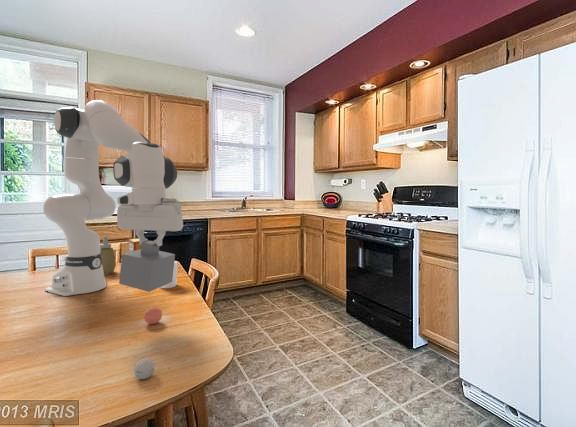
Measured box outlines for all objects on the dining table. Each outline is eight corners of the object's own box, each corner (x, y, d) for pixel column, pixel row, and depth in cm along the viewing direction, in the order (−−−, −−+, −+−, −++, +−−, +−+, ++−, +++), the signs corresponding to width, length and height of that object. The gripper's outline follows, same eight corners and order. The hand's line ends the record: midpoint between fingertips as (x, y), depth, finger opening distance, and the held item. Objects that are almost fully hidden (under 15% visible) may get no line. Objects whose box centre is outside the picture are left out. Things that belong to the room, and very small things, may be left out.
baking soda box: (129, 270, 158) (128, 238, 157) (143, 267, 162) (142, 237, 161) (135, 273, 151) (133, 241, 150) (149, 271, 155) (148, 239, 154)
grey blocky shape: (119, 283, 89) (123, 241, 88) (144, 274, 99) (148, 236, 98) (149, 291, 87) (153, 248, 85) (171, 281, 96) (176, 243, 95)
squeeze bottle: (102, 276, 147) (100, 238, 145) (93, 273, 151) (91, 237, 150) (119, 272, 153) (118, 236, 152) (110, 270, 158) (109, 235, 156)
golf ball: (133, 385, 65) (133, 366, 64) (134, 374, 68) (134, 357, 68) (154, 380, 66) (154, 362, 66) (154, 370, 70) (154, 353, 69)
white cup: (171, 289, 127) (170, 265, 126) (154, 288, 128) (153, 264, 128) (181, 283, 135) (181, 261, 134) (165, 282, 136) (164, 260, 135)
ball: (156, 327, 92) (142, 327, 93) (166, 319, 96) (153, 319, 98) (153, 311, 91) (138, 311, 92) (164, 303, 96) (150, 304, 97)
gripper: (186, 198, 91) (188, 245, 92) (128, 197, 96) (130, 242, 97) (173, 198, 85) (175, 249, 86) (112, 198, 90) (114, 245, 91)
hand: (150, 245), depth 92 cm, fingers closed on grey blocky shape, 4 cm apart
